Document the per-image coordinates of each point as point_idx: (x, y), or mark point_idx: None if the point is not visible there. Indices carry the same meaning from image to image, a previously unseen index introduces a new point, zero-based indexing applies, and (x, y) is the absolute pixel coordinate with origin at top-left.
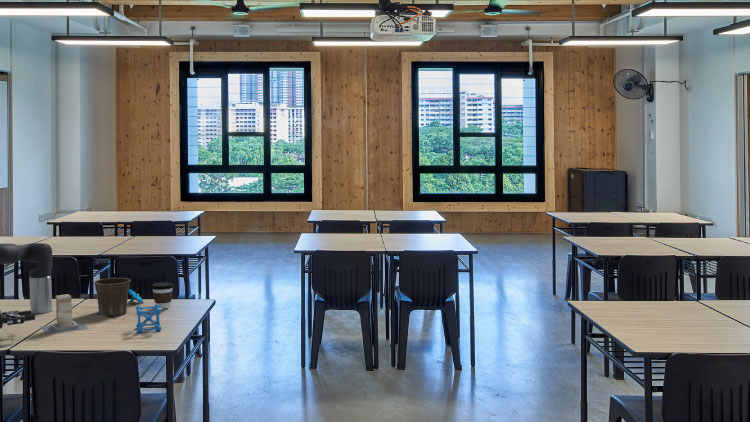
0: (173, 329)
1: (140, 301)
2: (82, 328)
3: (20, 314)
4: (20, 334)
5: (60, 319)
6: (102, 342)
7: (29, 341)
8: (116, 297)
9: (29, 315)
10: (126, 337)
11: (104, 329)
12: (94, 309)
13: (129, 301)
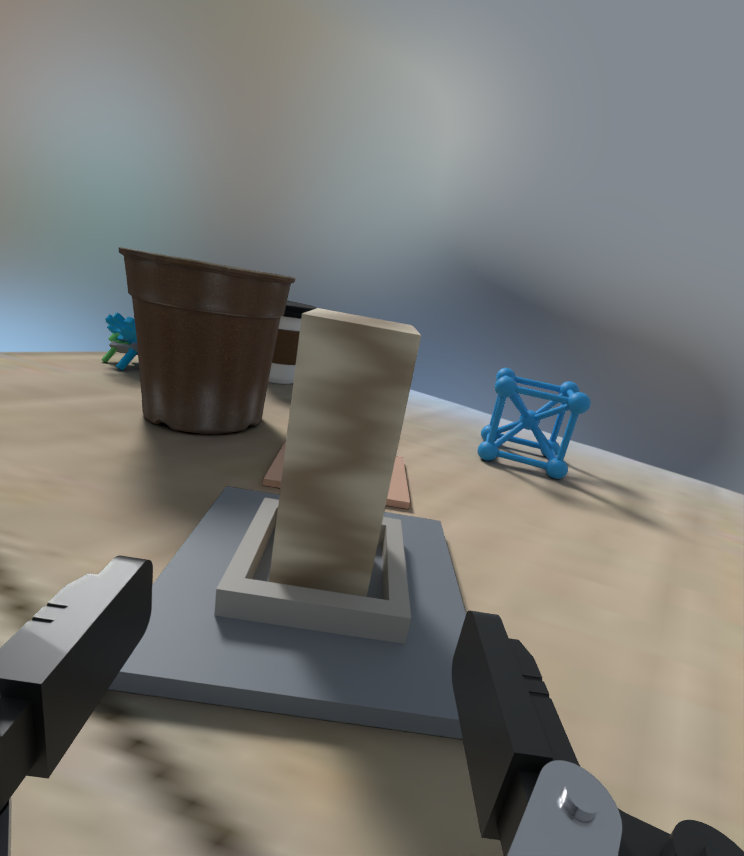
0: None
1: None
2: (416, 532)
3: (22, 748)
4: None
5: (379, 527)
6: (698, 577)
7: None
8: (273, 343)
9: (520, 677)
10: (616, 512)
11: (443, 500)
12: (42, 405)
13: (124, 361)
